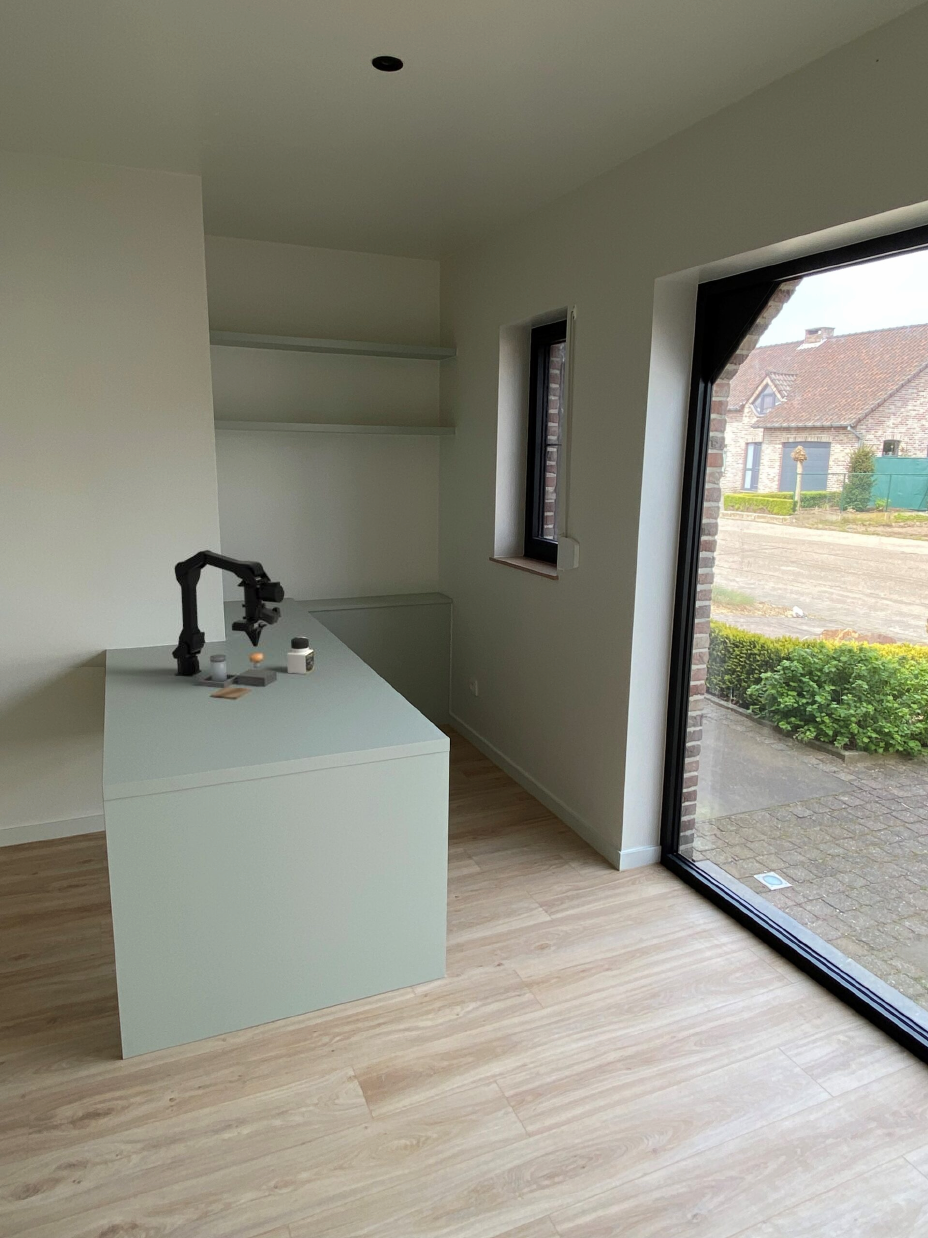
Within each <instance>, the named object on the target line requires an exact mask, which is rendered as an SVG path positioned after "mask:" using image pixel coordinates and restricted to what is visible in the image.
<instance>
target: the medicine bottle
mask: <svg viewBox="0 0 928 1238" xmlns="http://www.w3.org/2000/svg"><path fill="white" fill-rule="evenodd" d="M290 643H291V644H290V648H291V649H290V650H291V651H289V652H287V654H286V662H287V674H299V675H307V674H308V673H310V672H312V671H314V669H315V660H314V658H315V656H314V655H315V654H314V650H313V649H310V646H309V645H310V644H309V643H310V641H309V639H308V637H305V636H297V637H296V636H295V637H293V638H291V639H290Z"/></svg>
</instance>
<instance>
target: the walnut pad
mask: <svg viewBox="0 0 928 1238" xmlns="http://www.w3.org/2000/svg"><path fill="white" fill-rule="evenodd" d="M251 691H252V689H251V688H244V687H242V688H241V687H233V686H232V687H231V686H227V687H225V688H220V689H219V690H217V691H216V692H213V693H212V694H210V697H211V698H218V697H219V698H220V699H229V700H230V699H231V700H237V699H239V698H242V697H243V696H244V695H246V694H249V693H250V692H251Z"/></svg>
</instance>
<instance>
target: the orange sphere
mask: <svg viewBox="0 0 928 1238" xmlns="http://www.w3.org/2000/svg"><path fill="white" fill-rule="evenodd" d="M248 657H249V662H251V663H253V669H258V668H259V669H260V667H261V665H260V662H263V661H264V653H261V652H253V653H252V652H251V653H250V654H249V656H248Z"/></svg>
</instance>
